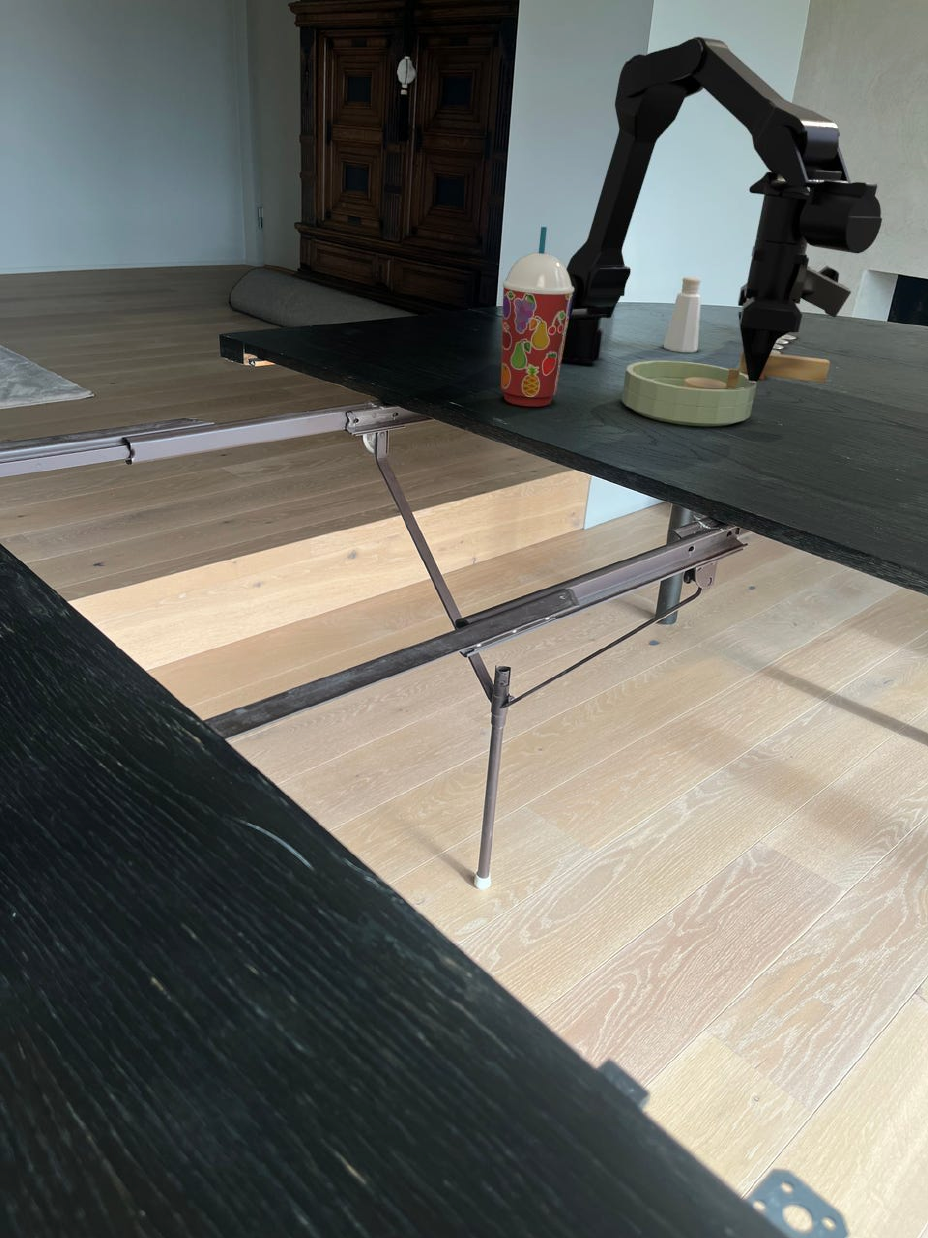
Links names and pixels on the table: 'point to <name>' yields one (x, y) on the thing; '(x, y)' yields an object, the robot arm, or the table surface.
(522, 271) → the smoothie
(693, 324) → the salt shaker
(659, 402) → the bowl
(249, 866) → the table surface
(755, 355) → the robot arm
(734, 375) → the wooden z bracket
